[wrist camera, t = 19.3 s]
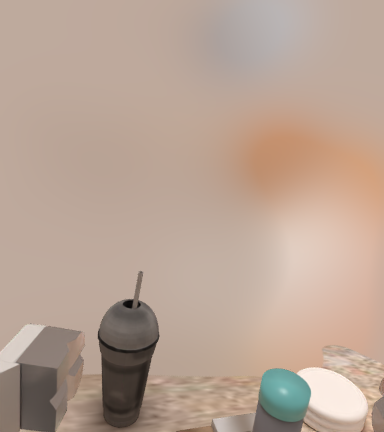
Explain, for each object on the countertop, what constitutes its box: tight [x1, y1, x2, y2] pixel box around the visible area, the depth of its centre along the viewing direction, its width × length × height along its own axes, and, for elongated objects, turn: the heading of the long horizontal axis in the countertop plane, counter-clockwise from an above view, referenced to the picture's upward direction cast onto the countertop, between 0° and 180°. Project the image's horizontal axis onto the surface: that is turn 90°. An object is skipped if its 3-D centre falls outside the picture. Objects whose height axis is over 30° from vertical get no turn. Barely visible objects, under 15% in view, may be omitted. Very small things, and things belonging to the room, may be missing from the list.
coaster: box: [297, 368, 368, 432], centre depth 49 cm, size 10×10×4 cm
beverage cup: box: [98, 271, 159, 427], centre depth 42 cm, size 7×7×20 cm
